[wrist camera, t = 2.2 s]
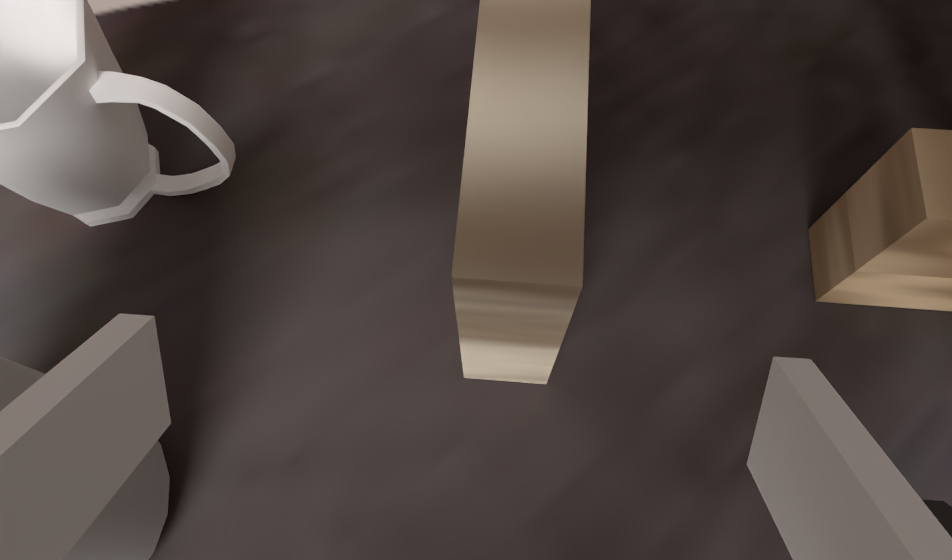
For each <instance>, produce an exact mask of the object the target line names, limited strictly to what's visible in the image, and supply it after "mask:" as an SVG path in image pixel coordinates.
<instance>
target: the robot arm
mask: <svg viewBox="0 0 952 560" xmlns="http://www.w3.org/2000/svg"><path fill="white" fill-rule="evenodd" d="M170 424H171V419H170V413H169V406H168V400H167V393H166V387H165V380H164V374H163V368H162V361H161V355H160V348H159V342H158V336H157V329H156V323H155V316H150V315H135V314H118V315H117V316H116V317H115V318H113V319H112V320H111V321H110V322H108V323H107V324H106V325H105V326H104V327H102V328H101V329H100V330H99V331H97V332H96V333H95V334H94V335H93V336H91V337H90V338H89V339H88V340H87V341H85V342H84V343H83V344H82V345H80V346H79V347H78V348H77V349H76V350H74V351H73V352H72V353H71V354H69V355H68V356H67V357H66V358H65V359H63V360H62V361H61V362H60V363H59V364H57V365H56V366H55V367H54V368H52V369H51V370H50V371H49V372H48V373H46V374H45V375H44V376H43V377H41V378H40V379H39V380H38V381H37V382H35V383H34V384H33V385H32V386H30V387H29V388H28V389H27V390H26V391H24V392H23V393H22V394H21V395H20V396H18V397H17V398H16V399H15V400H13V401H12V402H11V403H10V404H9V405H7V406H6V407H5V408H4V409H2V410H1V411H0V560H63V559H64V558H65V556H66V555H67V554H68V553H69V551H70V550H71V549H72V548H73V546H74V545H75V544H76V543H77V541H78V540H79V539H80V538H81V536H82V535H83V534H84V532H85V531H86V530H87V529H88V527H89V526H90V525H91V524H92V522H93V521H94V520H95V519H96V517H97V516H98V515H99V514H100V512H101V511H102V510H103V509H104V507H105V506H106V505H107V503H108V502H109V501H110V500H111V498H112V497H113V496H114V495H115V493H116V492H117V491H118V490H119V488H120V487H121V486H122V485H123V483H124V482H125V481H126V480H127V478H128V477H129V476H130V474H131V473H132V472H133V471H134V469H135V468H136V467H137V466H138V464H139V463H140V462H141V461H142V459H143V458H144V457H145V456H146V454H147V453H148V452H149V450H150V449H151V448H152V447H153V445H154V444H155V443H156V442H157V440H158V439H159V438H160V437H161V435H162V434H163V433H164V432H165V430H166V429H167V428H168V427H169V425H170ZM747 466H748V468H749V470H750V472H751V474H752V476H753V478H754V480H755V482H756V484H757V486H758V488H759V491H760V493H761V495H762V497H763V499H764V501H765V503H766V505H767V507H768V509H769V511H770V513H771V515H772V518H773V520H774V522H775V524H776V526H777V528H778V530H779V532H780V534H781V536H782V538H783V540H784V542H785V544H786V547H787V549H788V551H789V553H790V555H791V557H792V559H793V560H952V507H951V506H949V505H948V504H947V503H945V502H944V501H933V500H922V499H921V498H920V497H919V496H918V494H917V493H916V492H915V491H914V489H913V488H912V487H911V486H910V484H909V483H908V482H907V480H906V479H905V478H904V477H903V475H902V474H901V473H900V472H899V470H898V469H897V468H896V467H895V465H894V464H893V463H892V462H891V460H890V459H889V458H888V456H887V455H886V454H885V453H884V451H883V450H882V449H881V448H880V446H879V445H878V444H877V443H876V441H875V440H874V439H873V437H872V436H871V435H870V434H869V432H868V431H867V430H866V429H865V427H864V426H863V425H862V424H861V422H860V421H859V420H858V418H857V417H856V416H855V415H854V413H853V412H852V411H851V410H850V408H849V407H848V406H847V405H846V403H845V402H844V401H843V399H842V398H841V397H840V396H839V394H838V393H837V392H836V391H835V389H834V388H833V387H832V386H831V384H830V383H829V382H828V380H827V379H826V378H825V377H824V375H823V374H822V373H821V372H820V370H819V369H818V368H817V367H816V365H815V364H814V363H813V361H812V360H811V359H800V358H785V357H773V361H772V365H771V369H770V373H769V377H768V381H767V385H766V389H765V393H764V397H763V401H762V405H761V409H760V413H759V417H758V421H757V425H756V429H755V433H754V437H753V441H752V445H751V449H750V453H749V457H748V461H747Z"/></svg>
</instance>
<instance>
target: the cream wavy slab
mask: <svg viewBox="0 0 952 560" xmlns="http://www.w3.org/2000/svg"><path fill="white" fill-rule="evenodd" d="M590 8H591V0H480V5H479V15H478V25H477V34H476V44H475V54H474V63H473V73H472V83H471V93H470V102H469V112H468V122H467V131H466V141H465V151H464V160H463V170H462V180H461V189H460V199H459V209H458V218H457V228H456V238H455V247H454V257H453V267H452V276H451V278H452V286H453V294H454V302H455V310H456V318H457V326H458V334H459V342H460V350H461V358H462V366H463V374H464V378H474V379H487V380H499V381H512V382H525V383H537V384H547V381H548V378H549V376H550V373H551V370H552V368H553V365H554V362H555V360H556V357H557V354H558V351H559V349H560V346H561V343H562V341H563V338H564V335H565V333H566V330H567V327H568V325H569V322H570V319H571V317H572V314H573V311H574V308H575V306H576V303H577V300H578V298H579V295H580V292H581V290H582V287H583V256H584V220H585V185H586V150H587V114H588V79H589V44H590Z"/></svg>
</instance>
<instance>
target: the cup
mask: <svg viewBox="0 0 952 560" xmlns="http://www.w3.org/2000/svg"><path fill="white" fill-rule="evenodd" d="M137 103H139V104H142V105H145V106H148V107H151V108H154V109H156V110H158V111H160V112H162V113H163V114H165V115H167V116H169V117H170V118H172V119H174V120H176V121H178V122H179V123H181V124H183V125H185V126H186V127H188V128H189V129H190V130H191V131H192V132H193V133H194V134H195V135H197V136H198V137H199V138H200V139H201V140H202V141H203V142H204V143H205V144H206V145H207V146H208V147H209V148H210V149H211V150H212V152H213V153H214V154H215V155H216V156H217V157H218V159H219V160H220V162H219V163H218V164H216V165H213V166H211V167H208V168H206V169H203V170H200V171H197V172H194V173H192V174H184V175H177V176H168V175H161V174H160V165H159V152H158V151H157V149H156V148H155V147H154V146H152V145H150V144H149V143H148V135H147V131H146V128H145V125H144V122H143V119H142V116H141V113H140V110H139V107H138V104H137ZM235 159H236V155H235V147H234V143H233V142H232V140H231V139H230V138H229V136H228V135H227V134H226V132H225V131H224V130H223V129H222V127H221V126H220V125H219V124H218V123H217V122H216V121H215V120H214V119H213V118H212V117H211V116H210V115H209V114H208V113H207V112H205V111H204V110H203V109H202V108H201V107H200V106H199V105H198V104H197V103H195V102H193V101H192V100H190V99H188V98H187V97H185V96H183V95H182V94H180V93H178V92H177V91H175V90H173V89H172V88H170V87H168V86H167V85H164V84H161V83H158V82H156V81H153V80H150V79H147V78H144V77H140V76H135V75H130V74H124V73H123V72H122V70H121V68H120V66H119V64H118V62H117V60H116V58H115V56H114V55H113V53H112V51H111V48H110V46H109V44H108V42H107V40H106V38H105V36H104V34H103V32H102V29H101V27H100V25H99V23H98V21H97V19H96V17H95V15H94V13H93V11H92V9H91V7H90V5H89V3H88V1H87V0H0V184H1V185H3V186H5V187H7V188H8V189H10V190H12V191H14V192H16V193H18V194H20V195H22V196H24V197H26V198H28V199H29V200H31V201H33V202H36V203H39V204H42V205H45V206H47V207H50V208H53V209H56V210H59V211H62V212H65V213H68V214H70V215H73V216H75V217H76V218H78V219H79V220H81V221H82V222H84V223H85V224H87V225H89V226H90V227H92V226H96V225H101V224H106V223H111V222H116V221H121V220H126V219H130V218H133V217H134V216H135V215H136V214H137V213H138V212H139V211H140V210H141V208H142V207H143V206H144V205H145V204H146V203H147V202H148V201H149V199H150V198H151V197H152V196H153V195H154V194H158V195H166V196H176V195H185V194H192V193H196V192H199V191H202V190H206V189H209V188H211V187H214V186H217V185H220V184H221V183H222V182H223V181H224V180H226V179H227V178H228V177H229V176H230V174H231V171H232V168H233V165H234V162H235Z"/></svg>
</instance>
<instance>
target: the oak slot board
mask: <svg viewBox="0 0 952 560" xmlns="http://www.w3.org/2000/svg"><path fill="white" fill-rule="evenodd" d="M808 233H809V243H810V253H811V262H812V272H813V282H814V292H815V301H817V302H831V303H845V304H859V305H873V306H886V307H900V308H914V309H928V310H941V311H952V130H938V129H922V128H911V129H910V130H909V131H908V132H907V133H906V134H905V135H903V136H902V137H901V138H900V139H899V140H898V141H897V142H896V143H895V144H894V145H893V146H892V147H891V148H890V149H889V150H888V151H887V152H886V153H885V154H884V155H883V156H882V157H881V158H880V159H879V160H878V161H877V162H876V163H875V164H874V165H873V166H872V167H871V168H870V169H869V170H868V171H867V172H866V173H865V174H864V175H863V176H862V177H861V178H860V179H859V180H858V181H857V182H856V183H855V184H854V185H853V186H852V187H851V188H850V189H849V190H848V191H847V192H846V193H845V194H844V195H843V196H842V197H841V198H840V199H839V200H838V201H837V202H836V203H835V204H834V205H833V206H832V207H831V208H830V209H828V210H827V211H826V212H825V213H824V214H823V215H822V216H821V217H820V218H819V219H818V220H817V221H816V222H815V223H814V224H813V225H812V226H811V227H810V228H809V229H808Z"/></svg>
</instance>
